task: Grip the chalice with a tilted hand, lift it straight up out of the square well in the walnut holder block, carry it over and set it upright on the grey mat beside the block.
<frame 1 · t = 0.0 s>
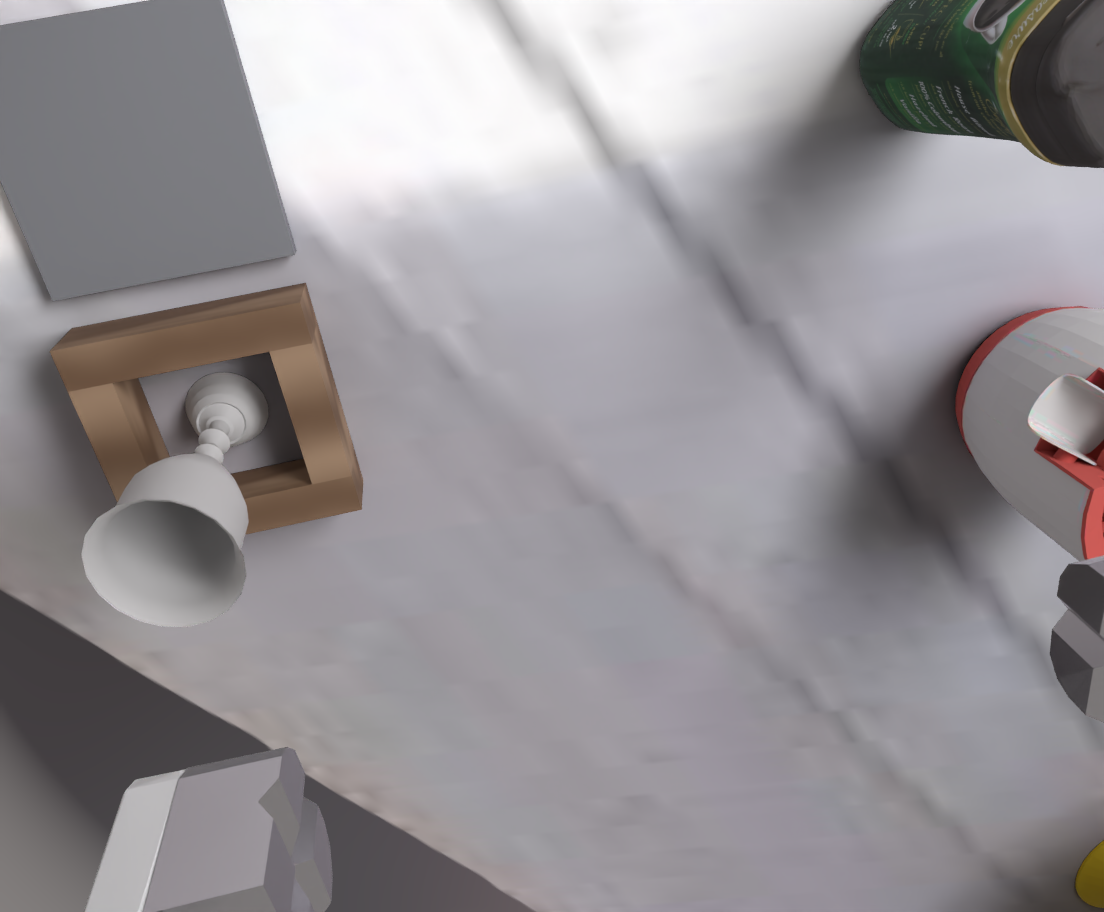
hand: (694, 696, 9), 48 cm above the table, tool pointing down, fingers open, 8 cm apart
walnut holder: (227, 409, 57), on the table
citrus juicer: (1015, 377, 66), on the table
coffee jar: (930, 43, 54), on the table
chalice: (227, 408, 57), resting in walnut holder
grey mat: (134, 151, 49), on the table
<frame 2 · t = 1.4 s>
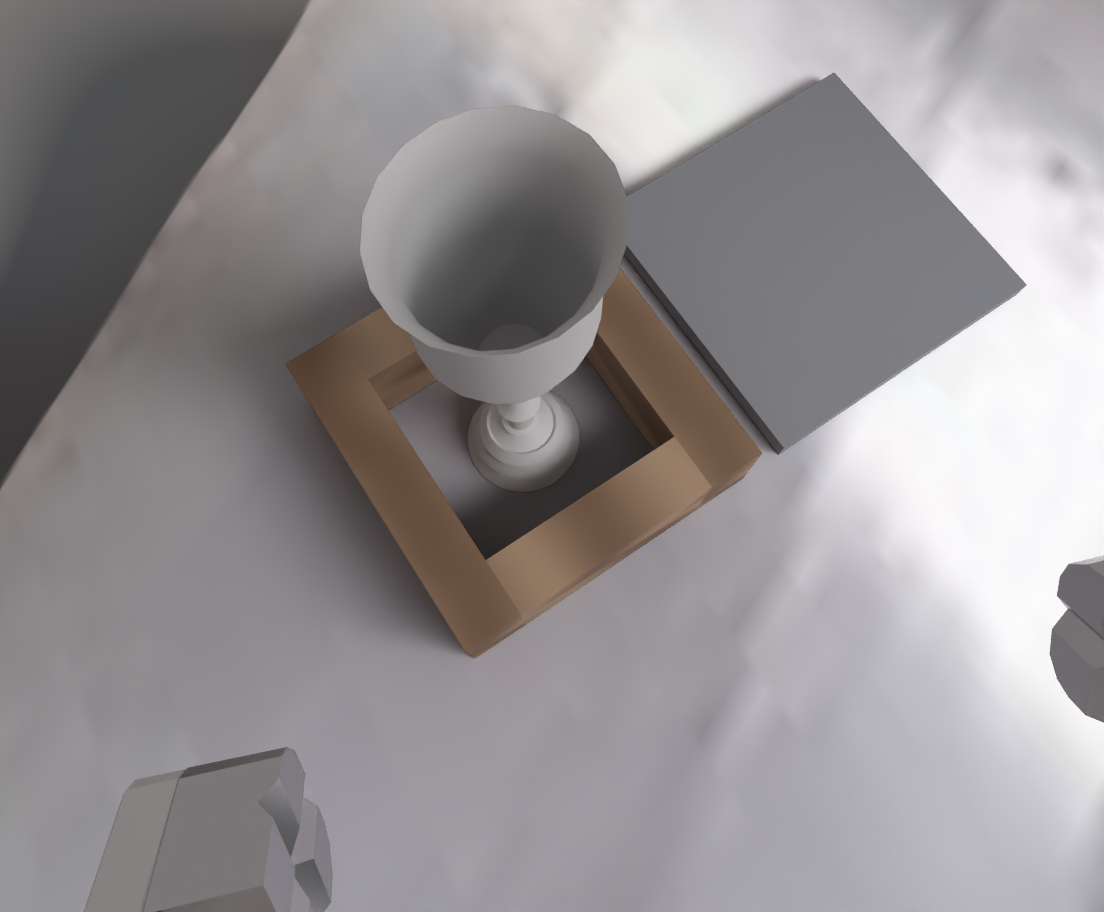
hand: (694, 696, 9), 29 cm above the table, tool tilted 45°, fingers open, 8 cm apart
walnut holder: (523, 437, 40), on the table
chalice: (523, 438, 40), resting in walnut holder
grey mat: (805, 258, 42), on the table
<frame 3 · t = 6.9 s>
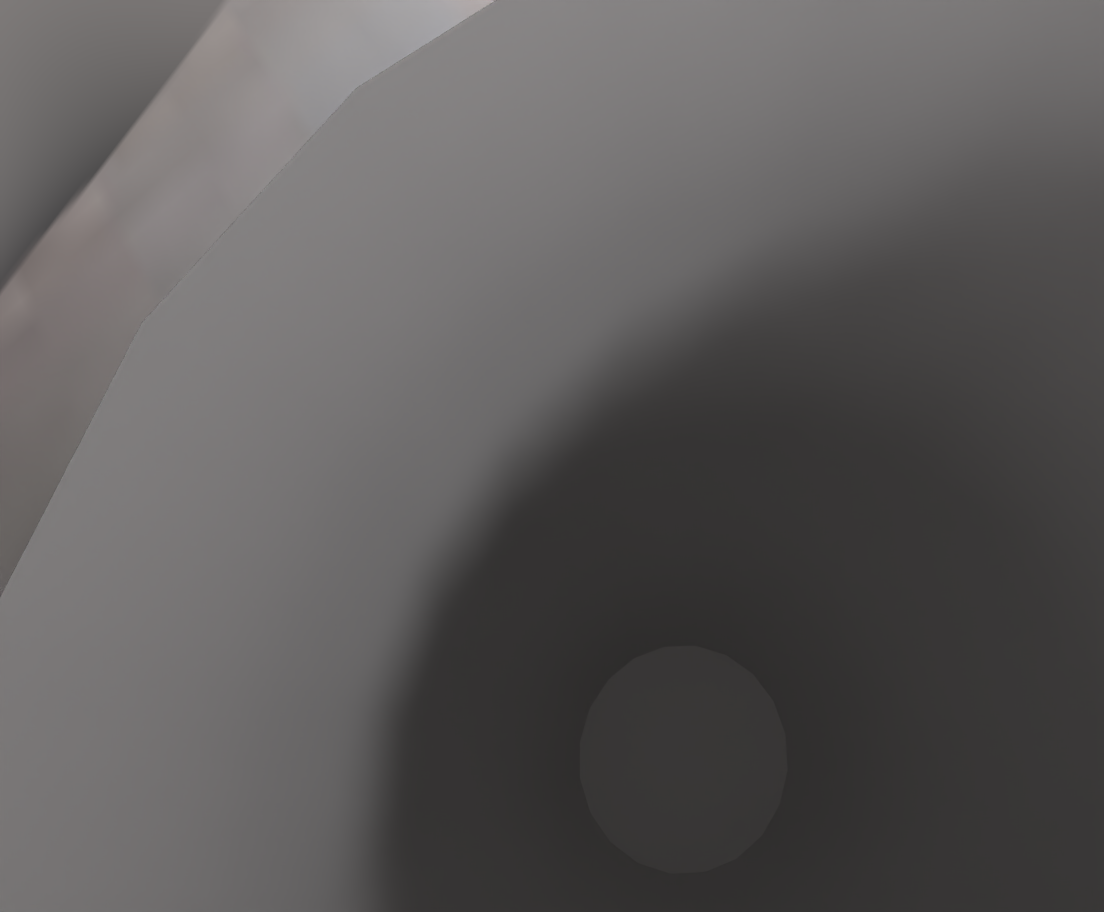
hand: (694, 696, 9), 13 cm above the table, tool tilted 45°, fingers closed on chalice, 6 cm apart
chalice: (617, 746, 20), point 2 cm above the table, touching gripper
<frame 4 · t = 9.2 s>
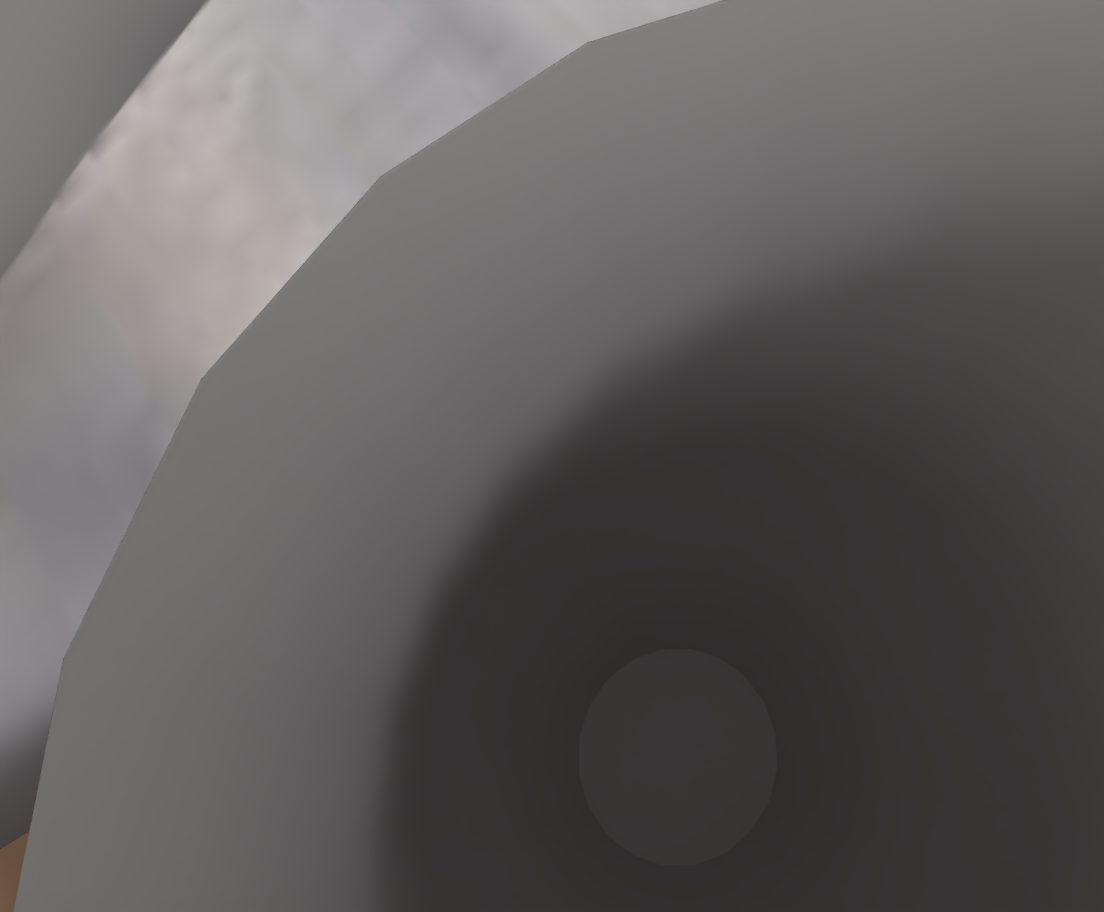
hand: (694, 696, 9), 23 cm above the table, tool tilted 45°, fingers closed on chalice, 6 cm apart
chalice: (618, 745, 20), point 11 cm above the table, touching gripper
when the fingers open (13 cm above the table, at t = 12.0 s): chalice stays where it is, resting on grey mat.
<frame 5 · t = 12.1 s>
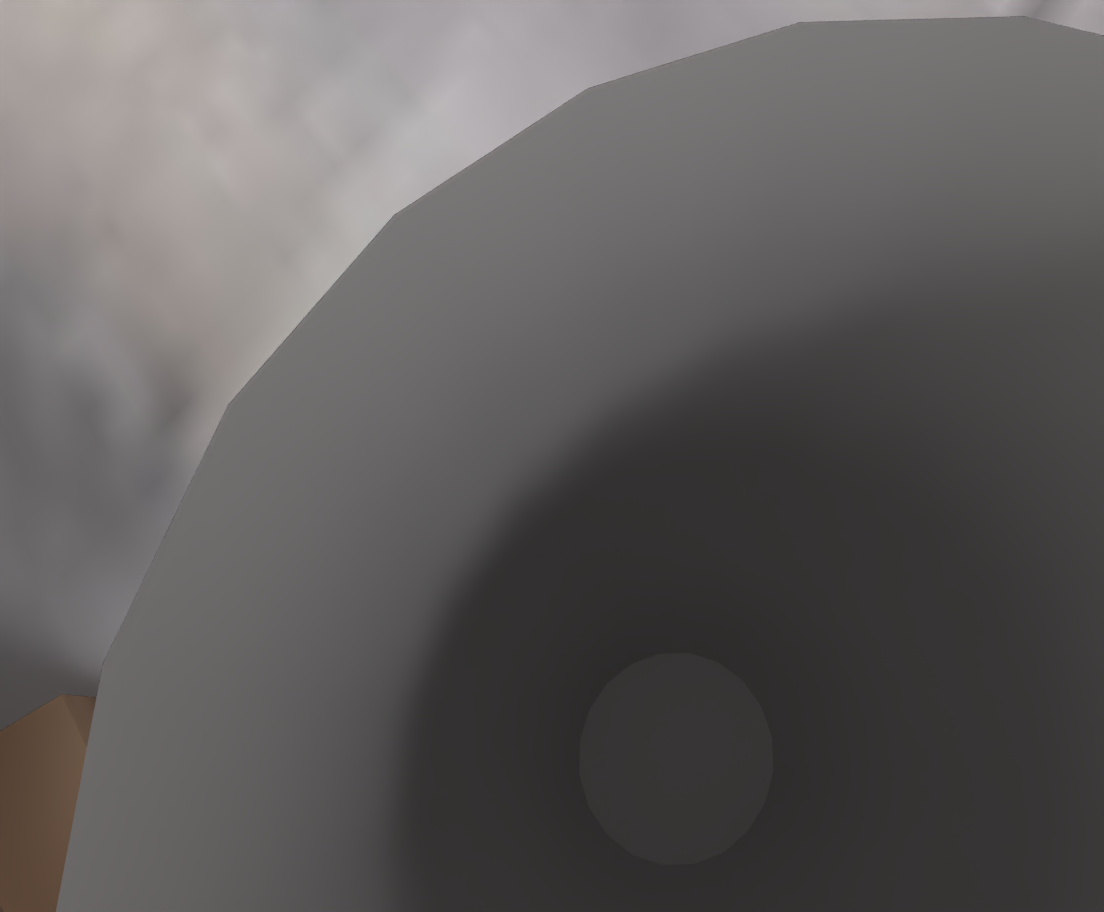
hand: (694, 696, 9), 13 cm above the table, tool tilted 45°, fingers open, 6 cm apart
chalice: (619, 747, 21), point 1 cm above the table, touching grey mat
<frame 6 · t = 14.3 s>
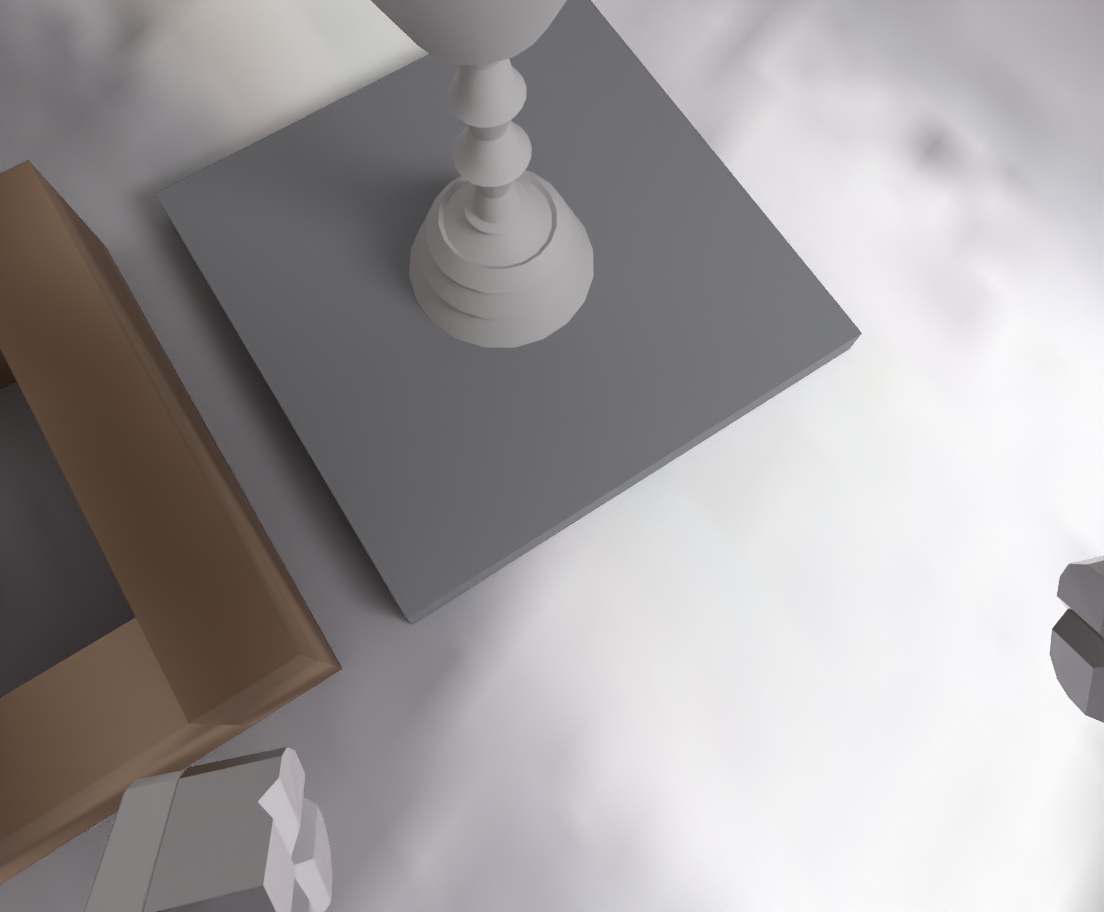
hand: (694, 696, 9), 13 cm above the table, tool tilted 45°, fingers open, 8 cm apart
chalice: (502, 266, 24), point 1 cm above the table, touching grey mat
grey mat: (502, 279, 25), on the table
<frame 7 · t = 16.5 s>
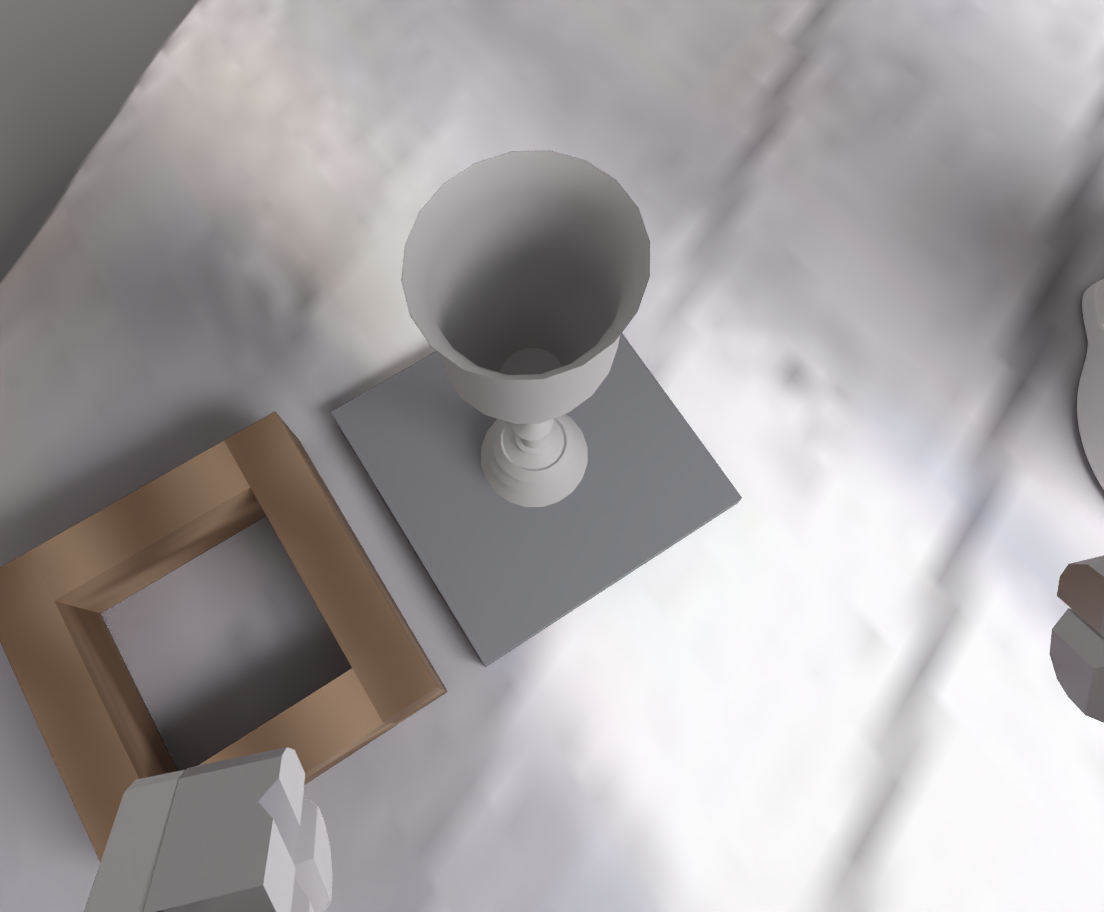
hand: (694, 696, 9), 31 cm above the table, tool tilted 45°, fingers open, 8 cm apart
walnut holder: (234, 643, 40), on the table
chalice: (534, 456, 42), point 1 cm above the table, touching grey mat
grey mat: (533, 460, 43), on the table
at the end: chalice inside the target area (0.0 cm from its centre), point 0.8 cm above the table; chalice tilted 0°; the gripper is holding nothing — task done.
